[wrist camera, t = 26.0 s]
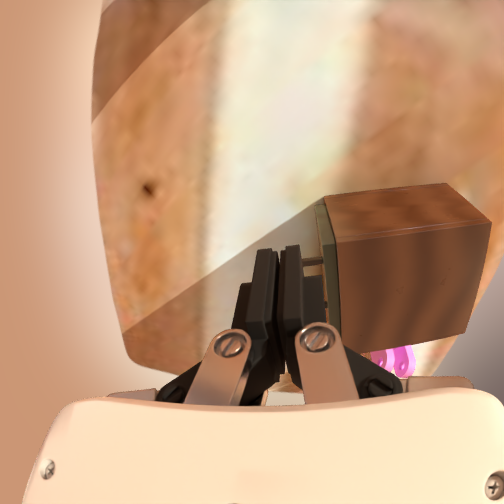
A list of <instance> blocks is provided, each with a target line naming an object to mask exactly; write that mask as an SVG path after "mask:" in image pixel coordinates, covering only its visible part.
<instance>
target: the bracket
mask: <svg viewBox="0 0 504 504" xmlns="http://www.w3.org/2000/svg"><path fill="white" fill-rule="evenodd" d="M370 353H371V358H372V362H373V363H375V364H377V365H379V366H380V367H382V368H384V369H385V370H387V371H389V372H391V371H392V369H393V366H394V370H395V373H396V375H397V376H398V377H402V378H408V376H411V375H412V374H413V372H414V370H415V366H416V360H415V357H414V354H413V350H412V347H411V345H409V346H403V347H398V348H392V349H386V350H380V351H374V352H370Z"/></svg>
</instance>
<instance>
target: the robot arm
mask: <svg viewBox="0 0 504 504" xmlns="http://www.w3.org/2000/svg"><path fill="white" fill-rule="evenodd" d="M285 360H286V364H287V369H288V373H289V374H291V378H292V382H293V383H294V384H295V385H296V386H298V387H299V388H300V389H302V390H303V394H304V400H305V404H304V405H285V406H265V404H266V400H267V397H268V388H270V387H271V386H272V385H273V384H275V382H279V379H280V374H285ZM22 504H504V407H503V405H502V404H501V402H500V401H499V400H498V399H497V398H496V397H494V396H493V395H491V394H489V393H487V392H484V391H480V390H476V389H474V385H473V384H472V383H471V381H470V380H468V379H467V378H465V377H460V376H446V377H445V376H442V377H441V376H440V377H424V376H408V379H399V378H398V377H396V376H395V375H394V374H392V373H391V372H389V371H387V370H385V369H384V368H382V367H380V366H379V365H377V364H375V363H373V362H372V361H370V360H368V359H367V358H365V357H363V356H361V355H360V354H358V353H356V352H355V351H353V350H351V349H350V348H348V347H346V346H345V345H343V344H342V341H341V338H340V335H339V333H338V331H337V329H336V328H335V327H333V326H332V325H330V324H327V321H326V310H325V301H324V291H323V283H322V275H316V276H308V277H304V273H303V265H302V259H301V252H300V246H299V245H293V246H286V249H285V250H281V254H280V263H279V258H278V253H277V251H273V252H272V249H271V248H268V249H260V250H257V255H256V261H255V266H254V272H253V278H252V282H250V283H242V284H241V286H240V290H239V294H238V299H237V303H236V308H235V313H234V317H233V322H232V327H231V329H229V330H225V331H223V332H221V333H219V334H218V335H216V336H215V337H214V338H213V340H212V341H211V343H210V345H209V347H208V349H207V352H206V354H205V356H204V358H203V360H202V361H201V362H199V363H198V364H196V365H195V366H193V367H192V368H190V369H189V370H187V371H186V372H184V373H183V374H181V375H180V376H178V377H177V378H176V379H174V380H172V381H171V382H169V383H168V384H166V385H165V386H164V387H162V388H161V389H160V390H159V391H157V390H156V389H155V388H153V389H146V390H137V391H128V392H118V393H112V394H109V395H108V396H107V397H95V398H86V399H82V400H78V401H75V402H72V403H70V404H68V405H66V406H65V407H64V408H63V409H62V410H61V411H60V412H59V414H58V415H57V416H56V418H55V420H54V421H53V423H52V425H51V427H50V429H49V431H48V433H47V435H46V437H45V439H44V442H43V444H42V446H41V449H40V451H39V454H38V456H37V459H36V461H35V464H34V467H33V470H32V472H31V475H30V478H29V481H28V485H27V487H26V490H25V494H24V497H23V501H22Z"/></svg>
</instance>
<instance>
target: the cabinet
mask: <svg viewBox="0 0 504 504" xmlns="http://www.w3.org/2000/svg"><path fill="white" fill-rule="evenodd" d="M324 203H325V206H326V209H327V213H328V216H329V220H330V224H331V228H332V231H333V235H334V239H335V243H336V253H337V266H338V281H339V299H340V324H341V341H342V344H343V345H345V346H346V347H348V348H350V349H351V350H353V351H355V352H356V353H358V354H361V353H368V352H374V351H380V350H386V349H392V348H398V347H403V346H409V345H414V344H419V343H424V342H428V341H433V340H438V339H442V338H446V337H451V336H455V335H459V334H463V333H465V331H466V328H467V324H468V322H469V319H470V315H471V312H472V309H473V306H474V302H475V299H476V295H477V291H478V288H479V284H480V280H481V276H482V272H483V267H484V263H485V258H486V253H487V248H488V243H489V237H490V231H491V225H492V222H491V221H490V220H489V219H487V218H486V217H485V216H484V215H483V214H482V213H481V212H480V211H479V210H478V209H476V208H475V207H474V206H473V205H472V204H471V203H470V202H468V201H467V200H466V199H465V198H464V197H463V196H461V195H460V194H459V193H458V192H457V191H455V190H454V189H453V188H452V187H450V186H449V185H448V184H447V183H441V184H430V185H419V186H408V187H398V188H389V189H379V190H370V191H362V192H353V193H345V194H337V195H329V196H324Z"/></svg>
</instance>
